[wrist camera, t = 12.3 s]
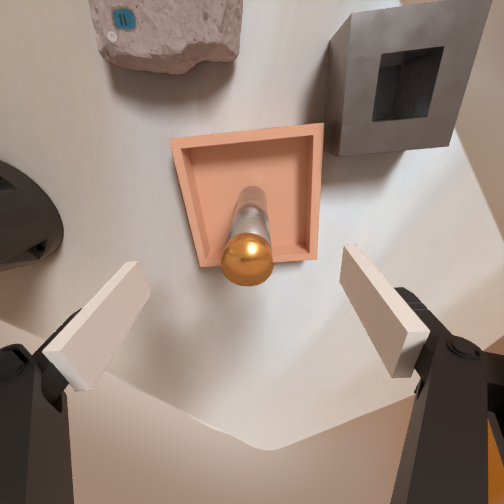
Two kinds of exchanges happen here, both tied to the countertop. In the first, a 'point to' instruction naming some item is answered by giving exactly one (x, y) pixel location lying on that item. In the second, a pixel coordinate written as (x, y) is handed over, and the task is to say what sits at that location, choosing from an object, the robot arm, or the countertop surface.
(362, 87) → the block
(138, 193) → the countertop surface
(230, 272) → the pin
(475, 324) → the countertop surface
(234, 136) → the tray
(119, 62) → the decorative stone
